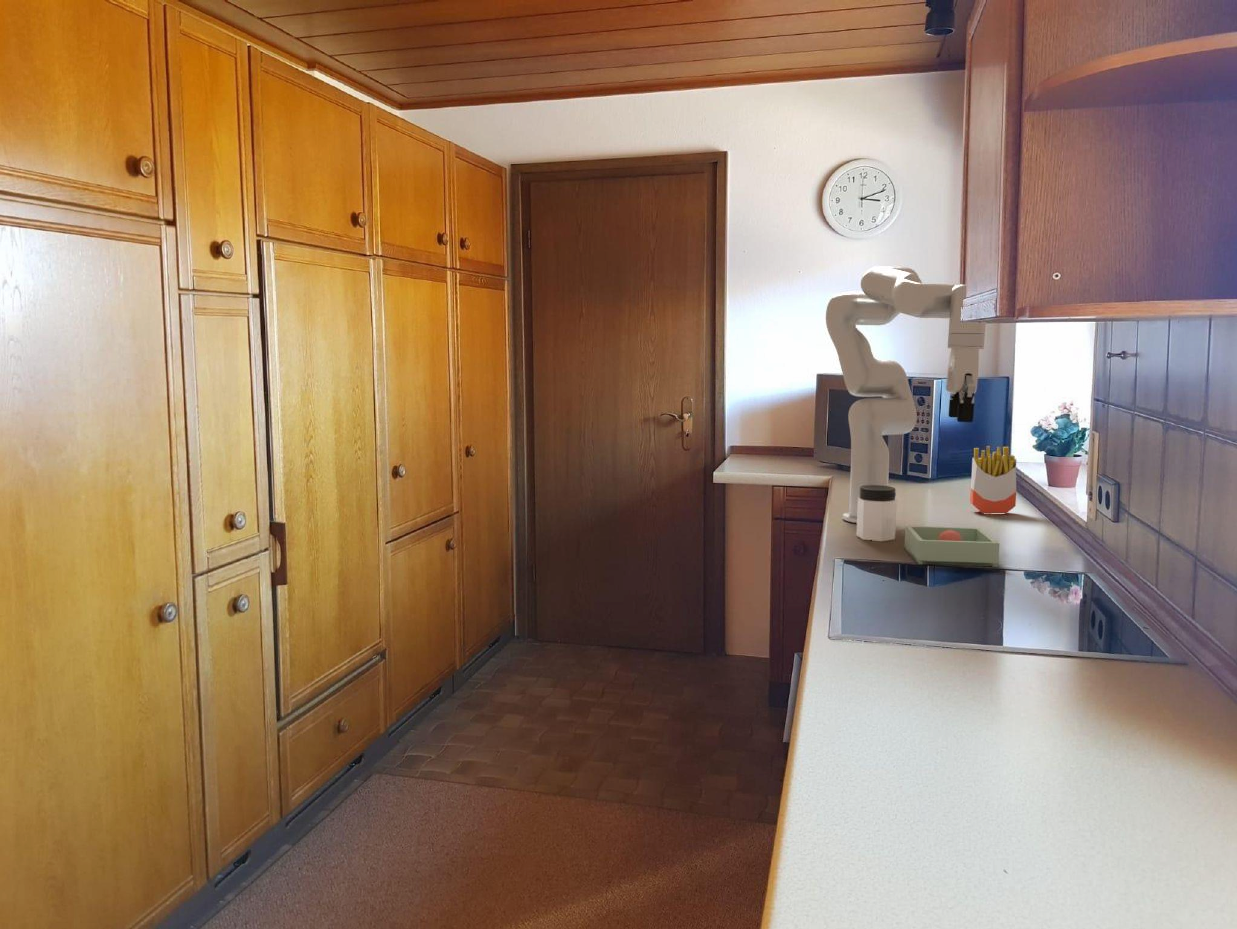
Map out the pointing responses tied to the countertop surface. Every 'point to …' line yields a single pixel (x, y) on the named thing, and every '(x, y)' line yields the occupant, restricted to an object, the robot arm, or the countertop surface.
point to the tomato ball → (950, 536)
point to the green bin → (951, 546)
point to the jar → (876, 513)
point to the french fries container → (993, 481)
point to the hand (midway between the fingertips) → (960, 419)
